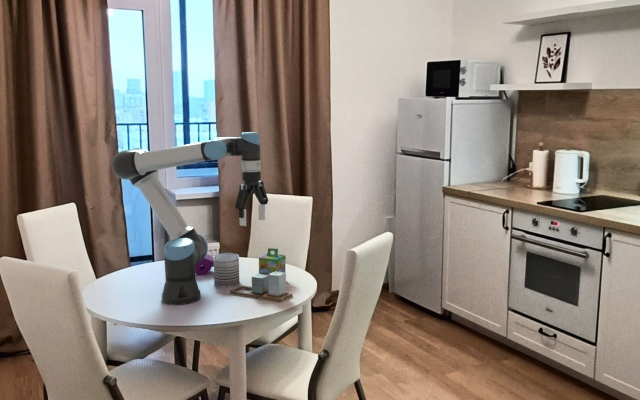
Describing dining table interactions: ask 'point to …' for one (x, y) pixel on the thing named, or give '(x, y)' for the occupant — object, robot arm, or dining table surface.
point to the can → (226, 269)
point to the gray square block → (260, 284)
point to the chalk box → (272, 262)
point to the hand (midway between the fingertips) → (252, 222)
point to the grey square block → (277, 284)
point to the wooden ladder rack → (265, 297)
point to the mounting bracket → (204, 265)
